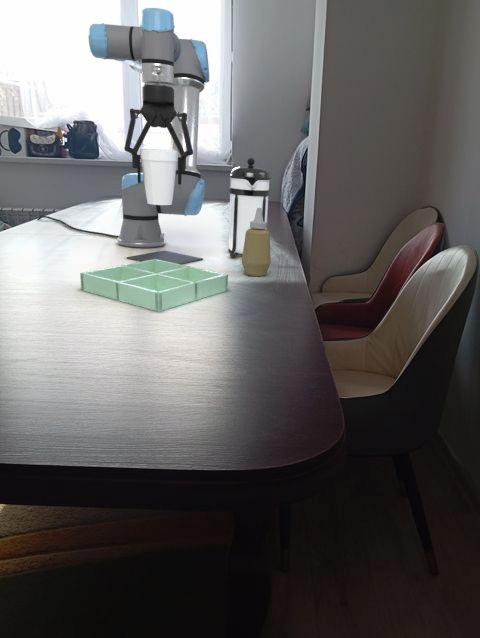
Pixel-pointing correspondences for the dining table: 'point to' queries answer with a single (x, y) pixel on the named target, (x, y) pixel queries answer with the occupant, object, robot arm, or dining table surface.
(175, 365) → the dining table surface
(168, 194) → the foam cup
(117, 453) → the dining table surface
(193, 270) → the divided sorting tray
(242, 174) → the coffee press
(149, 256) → the mat
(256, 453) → the dining table surface
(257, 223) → the squeeze bottle
